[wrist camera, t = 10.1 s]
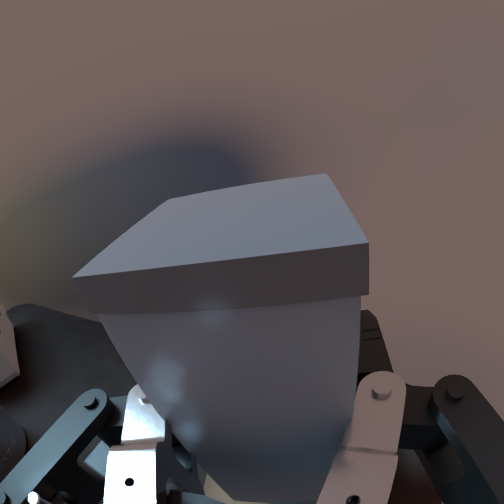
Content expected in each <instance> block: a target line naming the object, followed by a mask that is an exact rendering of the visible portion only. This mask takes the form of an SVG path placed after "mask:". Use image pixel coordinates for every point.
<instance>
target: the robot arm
mask: <svg viewBox="0 0 504 504" xmlns="http://www.w3.org/2000/svg"><path fill="white" fill-rule="evenodd" d="M96 435H97V436H98V437H99V438H100V439H101V440H102V441H101V442H100V443H99V444H98V445H97V447H96V448H95V449H94V450H93V451H92V453H91V454H90V455H89V456H88V457H87V459H86V460H85V461H84V462H82V463H77V458H78V456H79V455H80V454H81V452H82V451H83V450H84V449H85V448H86V446H87V445H88V444H89V443H90V442H91V441H92V439H93V438H94V437H95V436H96ZM398 448H399V449H412V450H415V452H416V454H417V456H418V457H419V459H420V461H421V463H422V465H423V466H424V468H425V470H426V472H427V474H428V475H429V477H430V479H431V481H432V483H433V485H434V486H435V488H436V490H437V492H438V494H439V496H440V498H441V499H442V501H443V503H444V504H504V422H503V420H502V419H501V418H500V416H499V415H498V414H497V412H496V411H495V410H494V409H493V407H492V406H491V405H490V404H489V402H488V401H487V400H486V399H485V397H484V396H483V395H482V394H481V393H480V391H479V390H478V389H477V388H476V387H475V386H474V384H473V383H472V382H471V381H470V380H469V379H468V378H466V377H464V376H461V375H448V376H445V377H443V378H441V379H440V380H439V381H438V382H437V383H436V384H435V386H434V387H421V386H412V385H408V384H406V383H404V381H403V380H402V378H400V376H398V375H397V374H395V373H394V372H393V370H392V366H391V363H390V359H389V356H388V353H387V349H386V346H385V343H384V340H383V338H382V333H381V331H380V327H379V324H378V321H377V318H376V317H375V316H374V315H373V314H372V313H371V312H370V311H369V310H362V311H361V314H360V342H359V359H358V373H357V384H356V395H355V404H354V413H353V417H350V418H349V422H348V425H347V428H346V432H345V435H344V438H343V441H342V444H341V446H340V447H339V448H338V450H337V452H336V455H335V457H334V460H333V463H332V466H331V468H330V471H329V474H328V476H327V479H326V481H325V484H324V486H323V489H322V491H321V494H320V496H319V498H318V500H312V501H279V502H274V503H269V504H387V502H388V499H389V495H390V492H391V488H392V484H393V480H394V476H395V472H396V467H397V462H398V453H397V449H398ZM25 451H26V436H25V433H24V431H23V429H22V427H21V426H20V425H19V424H18V423H17V422H16V421H15V420H14V419H13V418H12V417H11V416H10V415H9V414H8V413H7V412H6V410H5V409H4V408H3V407H2V406H1V405H0V480H3V481H2V482H1V483H0V504H98V503H99V502H100V500H101V499H102V498H103V497H104V504H226V503H223V502H220V501H217V500H215V499H212V498H209V497H207V496H205V493H204V489H203V487H202V484H201V482H200V480H199V477H198V472H197V462H196V456H195V455H194V454H193V453H192V452H191V451H187V450H186V449H185V447H184V446H183V445H182V444H181V443H180V441H179V440H178V439H177V438H176V436H175V435H174V434H173V433H172V426H171V425H170V424H169V422H168V421H167V420H166V418H165V417H160V415H159V414H158V413H157V411H156V410H155V408H154V407H153V406H152V404H151V403H150V401H149V400H148V398H147V397H146V396H145V394H144V393H143V391H142V390H141V388H140V387H139V385H138V384H137V385H135V386H134V387H133V388H132V389H131V390H130V392H129V394H128V395H126V396H120V397H113V398H109V397H108V396H107V395H106V394H105V392H104V391H102V390H100V389H91V390H88V391H86V392H84V393H83V394H82V395H81V396H80V397H79V398H78V399H77V400H76V401H75V402H74V403H73V404H72V405H71V406H70V407H69V408H68V409H67V411H66V412H65V413H64V414H63V415H62V416H61V417H60V418H59V419H58V420H57V421H56V422H55V423H54V424H53V426H52V427H51V428H50V429H49V430H48V431H47V432H46V433H45V434H44V435H43V436H42V437H41V439H40V440H39V441H38V442H37V443H36V444H35V445H34V446H33V447H32V448H31V450H30V451H29V452H28V453H27V454H26V455H25V456H24V454H25Z"/></svg>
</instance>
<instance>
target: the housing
mask: <svg viewBox="0 0 504 504" xmlns="http://www.w3.org/2000/svg"><path fill="white" fill-rule="evenodd" d="M72 279H73V281H74V283H75V285H76V287H77V290H78V292H79V294H80V296H81V298H82V300H83V302H84V304H85V306H86V308H87V310H88V312H89V314H97V315H98V317H99V318H100V320H101V322H102V324H103V326H104V328H105V330H106V332H107V334H108V335H109V337H110V339H111V341H112V343H113V344H114V346H115V348H116V350H117V351H118V353H119V355H120V356H121V358H122V360H123V361H124V363H125V365H126V366H127V368H128V370H129V371H130V373H131V374H132V376H133V377H134V379H135V381H136V382H137V384H138V385H139V387H140V388H141V390H142V391H143V393H144V394H145V396H146V397H147V398H148V400H149V401H150V403H151V404H152V406H153V407H154V408H155V410H156V411H157V413H158V414H159V415H160V417H165V418H166V420H167V421H168V422H169V424H170V425H171V426H172V433H173V434H174V435H175V436H176V438H177V439H178V440H179V441H180V443H181V444H182V445H183V446H184V447H185V449H186V450H187V451H191V452H192V453H193V454H194V455H195V456H196V461H197V463H198V464H199V465H200V466H201V467H202V468H203V469H204V470H205V472H206V473H207V474H208V475H209V476H210V477H211V478H212V479H213V480H214V481H215V482H216V483H217V484H218V485H219V486H220V487H221V488H222V489H223V490H224V491H225V492H226V493H227V494H228V495H229V496H230V497H231V498H232V499H233V500H234V501H243V502H258V503H274V502H279V501H312V500H318V498H319V496H320V494H321V491H322V489H323V486H324V484H325V481H326V479H327V476H328V474H329V471H330V468H331V466H332V463H333V460H334V457H335V455H336V452H337V450H338V448H339V447H340V446H341V444H342V441H343V438H344V435H345V432H346V428H347V425H348V422H349V418H350V417H353V413H354V404H355V395H356V384H357V373H358V359H359V342H360V314H361V296H362V295H369V243H368V241H367V239H366V237H365V236H364V234H363V232H362V230H361V228H360V227H359V225H358V223H357V221H356V220H355V218H354V216H353V215H352V213H351V211H350V210H349V208H348V206H347V205H346V203H345V202H344V200H343V199H342V197H341V195H340V193H339V192H338V190H337V189H336V187H335V186H334V184H333V183H332V181H331V179H330V178H329V176H328V175H327V174H318V175H311V176H302V177H295V178H288V179H281V180H274V181H267V182H261V183H255V184H249V185H243V186H237V187H231V188H225V189H220V190H214V191H209V192H204V193H199V194H193V195H188V196H184V197H178V198H174V199H169V200H167V201H166V202H164V203H163V204H162V205H160V206H159V207H157V208H156V209H155V210H153V211H152V212H151V213H150V214H148V215H147V216H146V217H144V218H143V219H142V220H140V221H139V222H138V223H137V224H135V225H134V226H133V227H131V228H130V229H129V230H128V231H126V232H125V233H124V234H123V235H121V236H120V237H119V238H118V239H116V240H115V241H114V242H113V243H112V244H110V245H109V246H108V247H107V248H106V249H104V250H103V251H102V252H101V253H100V254H98V255H97V256H96V257H95V258H94V259H92V260H91V261H90V262H89V263H88V264H87V265H86V266H84V267H83V268H82V269H81V270H80V271H79V272H78V273H76V274H75V275H74V276H73V277H72Z"/></svg>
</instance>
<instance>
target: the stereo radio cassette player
mask: <svg viewBox="0 0 504 504" xmlns="http://www.w3.org/2000/svg"><path fill="white" fill-rule="evenodd" d="M19 374H20V371H19V365H18V359H17V352H16V345H15V337H14V328H13V324H12V323H11V320H10V318H9V316H8V315H7V313H6V311H5V309H4V307H3V306H2V304H1V302H0V388H1V387H2V386H4V385H5V384H7V383H8V382H10V381H11V380H12V379H14V378H15V377H16V376H19Z"/></svg>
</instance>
